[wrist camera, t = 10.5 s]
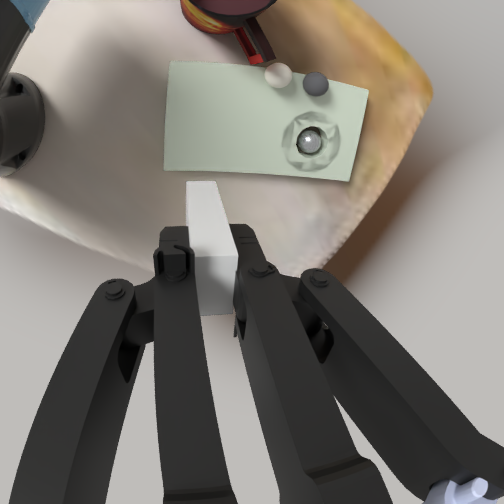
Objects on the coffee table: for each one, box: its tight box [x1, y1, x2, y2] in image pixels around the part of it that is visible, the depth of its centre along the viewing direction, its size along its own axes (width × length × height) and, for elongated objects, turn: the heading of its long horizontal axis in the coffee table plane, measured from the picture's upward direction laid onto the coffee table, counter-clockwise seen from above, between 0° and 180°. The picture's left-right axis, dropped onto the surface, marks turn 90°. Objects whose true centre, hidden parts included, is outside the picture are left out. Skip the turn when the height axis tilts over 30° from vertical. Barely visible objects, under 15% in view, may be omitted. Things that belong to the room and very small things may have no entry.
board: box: [163, 61, 369, 181], centre depth 36 cm, size 26×14×2 cm, turn 83°
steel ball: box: [298, 130, 321, 153], centre depth 38 cm, size 3×3×3 cm
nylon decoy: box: [265, 63, 292, 88], centre depth 30 cm, size 3×3×3 cm
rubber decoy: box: [303, 72, 329, 97], centre depth 32 cm, size 3×3×3 cm
